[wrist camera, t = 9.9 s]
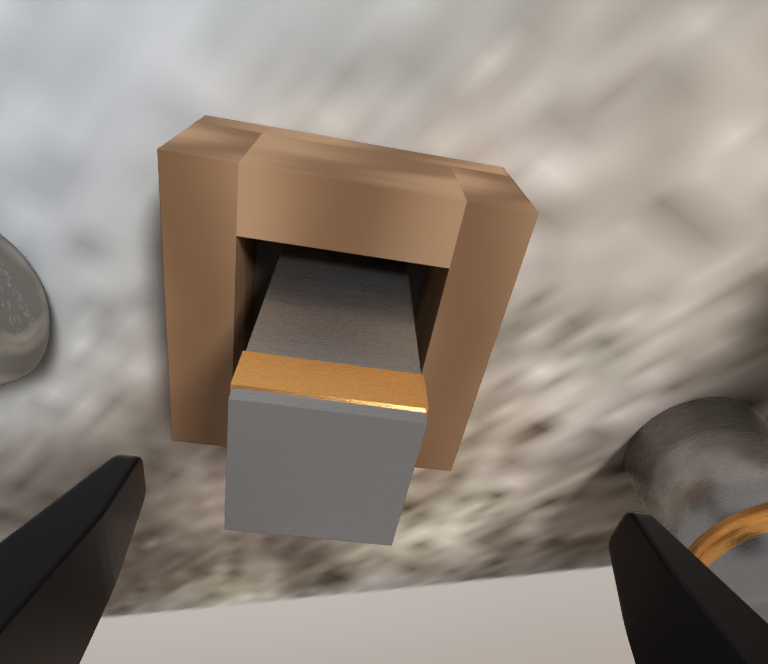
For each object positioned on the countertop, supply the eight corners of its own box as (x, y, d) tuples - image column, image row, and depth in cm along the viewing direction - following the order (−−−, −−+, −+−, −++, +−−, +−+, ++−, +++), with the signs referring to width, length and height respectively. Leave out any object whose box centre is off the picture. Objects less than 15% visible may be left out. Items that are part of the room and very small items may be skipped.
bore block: (503, 167, 18) (538, 213, 14) (438, 393, 23) (450, 471, 20) (205, 115, 17) (157, 149, 13) (206, 364, 22) (171, 440, 18)
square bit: (406, 246, 18) (430, 421, 11) (385, 343, 21) (392, 547, 13) (287, 227, 18) (225, 396, 10) (279, 328, 20) (222, 530, 12)
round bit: (795, 406, 24) (933, 538, 18) (721, 503, 28) (816, 641, 22) (659, 387, 23) (756, 518, 18) (601, 490, 27) (665, 628, 21)
